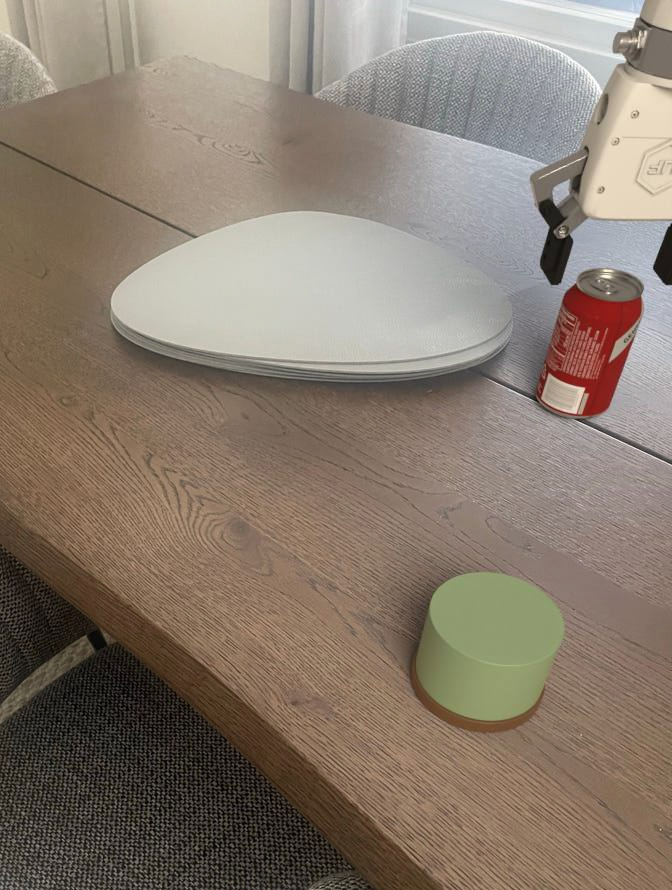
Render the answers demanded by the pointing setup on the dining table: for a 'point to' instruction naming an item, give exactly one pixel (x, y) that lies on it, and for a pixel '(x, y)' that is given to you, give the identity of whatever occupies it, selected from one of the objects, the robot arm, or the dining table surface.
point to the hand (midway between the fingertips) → (606, 277)
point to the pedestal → (486, 651)
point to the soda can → (590, 343)
